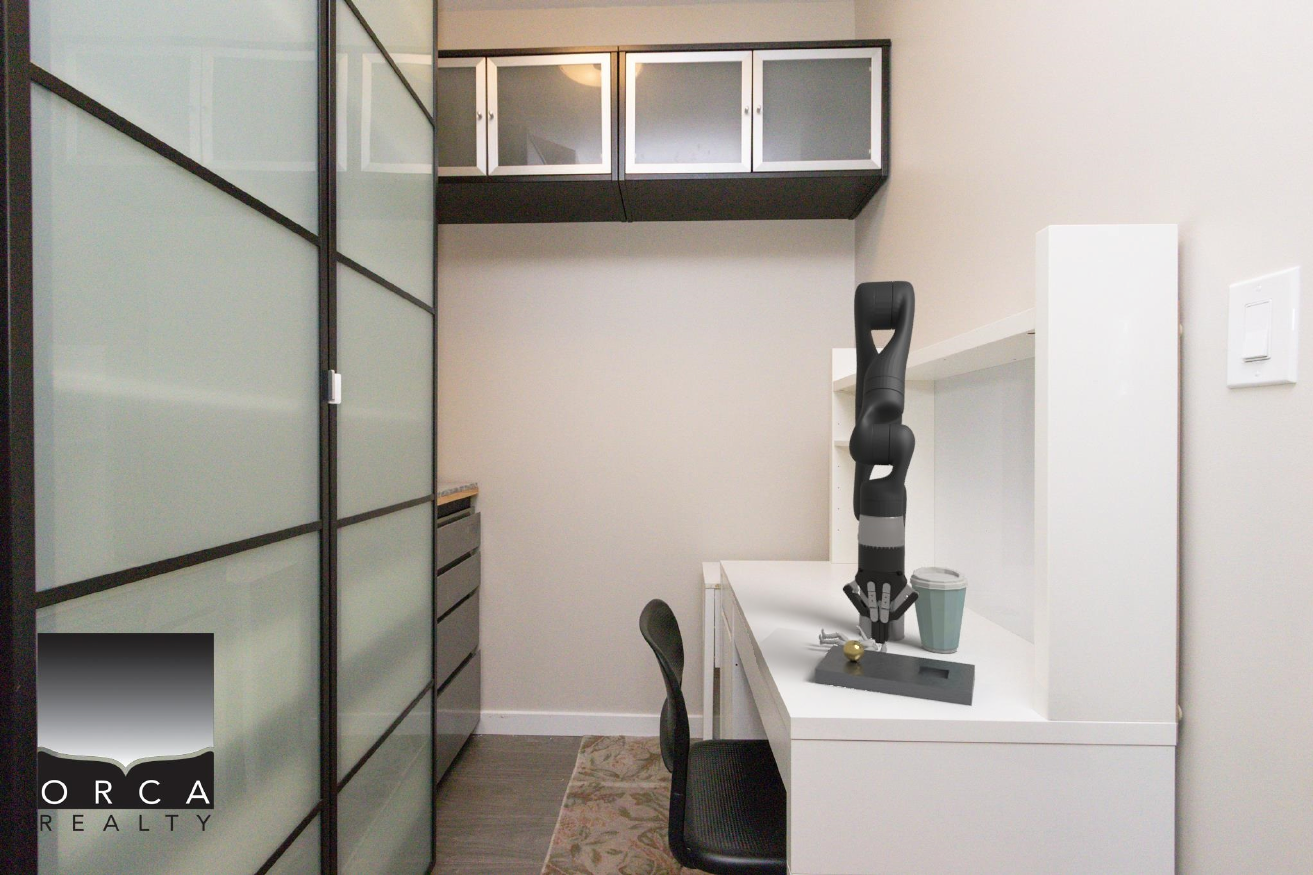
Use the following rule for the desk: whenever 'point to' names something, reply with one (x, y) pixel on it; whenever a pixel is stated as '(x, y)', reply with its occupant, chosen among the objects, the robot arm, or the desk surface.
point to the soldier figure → (844, 639)
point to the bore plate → (899, 675)
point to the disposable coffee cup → (939, 607)
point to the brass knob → (853, 650)
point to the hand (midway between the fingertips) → (880, 642)
